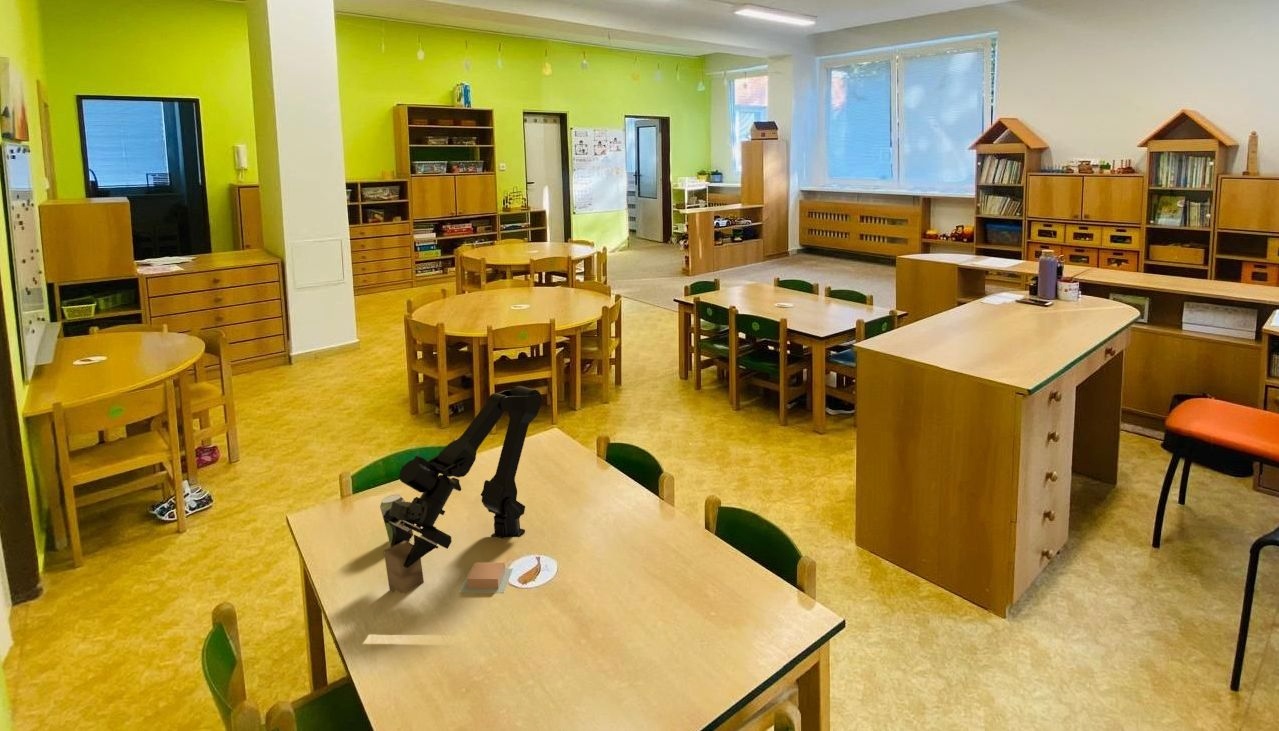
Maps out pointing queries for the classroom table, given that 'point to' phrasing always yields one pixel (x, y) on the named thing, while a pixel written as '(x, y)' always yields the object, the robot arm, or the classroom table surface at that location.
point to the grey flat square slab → (500, 590)
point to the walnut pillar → (402, 568)
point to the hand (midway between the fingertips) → (397, 563)
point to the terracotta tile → (486, 576)
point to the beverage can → (385, 506)
